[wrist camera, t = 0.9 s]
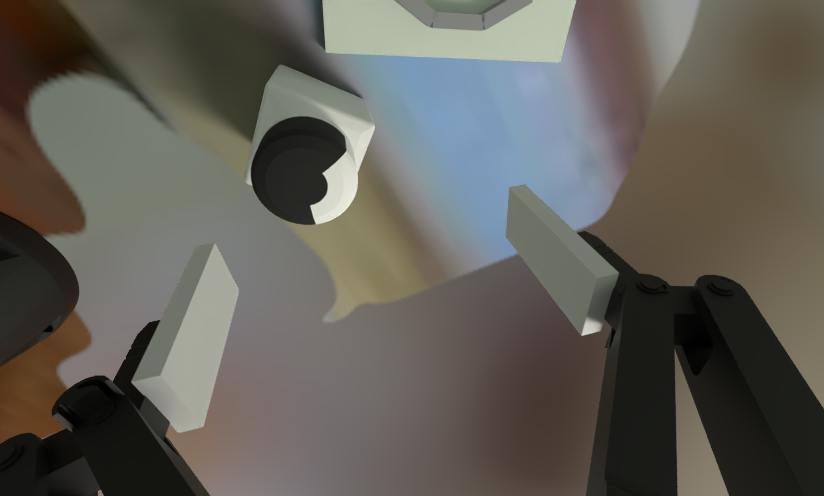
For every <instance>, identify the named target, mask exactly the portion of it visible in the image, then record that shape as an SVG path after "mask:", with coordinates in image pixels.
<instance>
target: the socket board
mask: <svg viewBox="0 0 824 496" xmlns="http://www.w3.org/2000/svg"><path fill="white" fill-rule="evenodd" d="M322 1H323V17H324V32H325V48H326V53H344V54H368V55H392V56H416V57H440V58H464V59H488V60H512V61H536V62H560V61H561V57H562V53H563V49H564V45H565V41H566V38H567V34H568V30H569V26H570V22H571V18H572V14H573V11H574V7H575V3H576V0H322Z"/></svg>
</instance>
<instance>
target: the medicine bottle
mask: <svg viewBox="0 0 824 496" xmlns="http://www.w3.org/2000/svg"><path fill="white" fill-rule="evenodd" d="M374 129H375V125H374V122H373V119H372V116H371V114H370V111H369V108H368V105H367V103H366V101H365V100H364V99H362V98H360V97H357V96H355V95H353V94H350V93H348V92H346V91H343V90H341V89H339V88H336V87H334V86H332V85H329V84H327V83H325V82H322V81H320V80H318V79H315V78H313V77H310V76H308V75H306V74H303V73H301V72H299V71H296V70H294V69H292V68H289V67H287V66H285V65H278V67H277V68H276V70H275V71H274V73H273V74H272V76H271V77H270V79H269V81H268V82H267V84H266V85H265V90H264V94H263V98H262V103H261V107H260V111H259V115H258V120H257V124H256V128H255V133H254V137H253V141H252V145H251V150H250V154H249V158H248V163H247V167H246V171H245V175H244V181H245V182H246V183H247V184H249V185H252V186H253V189H254V191H255V193H256V195H257V197H258V198H259V200H260V201H261V203H262V204H263V205H264V206H265V207H266V208H267V209H268V210H269V211H270V212H272V213H273V214H275V215H276V216H278V217H280V218H282V219H284V220H286V221H289V222H292V223H296V224H303V225H313V224H320V223H324V222H327V221H330V220H332V219H334V218H336V217H337V216H339V215H341V214H342V213H343V212H344V211H345V210H346V209H347V208H348V207H349V206H350V204H351V202H352V201H353V199H354V197H355V194H356V191H357V185H358V175H357V173H358V170H359V168H360V165H361V162H362V160H363V157H364V155H365V152H366V150H367V147H368V145H369V142H370V139H371V137H372V134H373V132H374Z"/></svg>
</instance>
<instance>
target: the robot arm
mask: <svg viewBox="0 0 824 496" xmlns="http://www.w3.org/2000/svg"><path fill="white" fill-rule="evenodd" d="M506 237H507V239H508V240H509V241H510V243H511V244H512V245H513V247H514V248H515V249H516V251H517V252H518V253H519V254H520V256H521V257H522V258H523V260H524V261H525V262H526V263H527V265H528V266H529V268H530V269H531V270H532V271H533V273H534V274H535V275H536V276H537V278H538V279H539V281H540V282H541V283H542V285H543V286H544V287H545V288H546V290H547V291H548V292H549V294H550V295H551V296H552V298H553V299H554V300H555V302H556V303H557V304H558V305H559V307H560V308H561V309H562V311H563V312H564V313H565V315H566V316H567V317H568V319H569V320H570V321H571V323H572V324H573V325H574V327H575V328H576V329H577V331H578V332H579V333H580V334H581V335H586V334H590V333H594V332H599V331H601V329H602V326H603V323H604V320H606V321H607V322H608V324H609V325H610V326H611V327H612V328H611V331H610V334H609V337H608V340H607V343H606V346H605V348H607V355H606V361H605V368H604V375H603V382H602V389H601V396H600V402H599V409H598V416H597V423H596V430H595V436H594V444H593V450H592V457H591V464H590V471H589V477H588V484H587V491H586V496H677V453H676V451H677V450H676V404H675V358H674V348H675V351H676V354H677V356H678V359H679V362H680V364H681V367H682V370H683V372H684V375H685V378H686V380H687V383H688V386H689V388H690V391H691V394H692V397H693V399H694V402H695V405H696V408H697V410H698V413H699V416H700V418H701V421H702V424H703V426H704V429H705V431H706V434H707V437H708V440H709V443H710V445H711V448H712V451H713V453H714V456H715V459H716V461H717V464H718V466H719V469H720V472H721V475H722V477H723V480H724V483H725V485H726V488H727V491H728V493H729V496H824V409H823V407H822V406H821V404H820V402H819V401H818V400H817V398H816V396H815V395H814V393H813V392H812V390H811V389H810V387H809V386H808V384H807V383H806V381H805V380H804V378H803V377H802V375H801V374H800V372H799V370H798V369H797V368H796V366H795V364H794V363H793V361H792V360H791V358H790V357H789V355H788V354H787V352H786V351H785V349H784V348H783V346H782V345H781V343H780V342H779V340H778V339H777V337H776V336H775V334H774V333H773V331H772V330H771V328H770V326H769V325H768V323H767V322H766V320H765V319H764V317H763V316H762V314H761V313H760V311H759V310H758V308H757V307H756V305H755V304H754V302H753V300H752V299H751V298H750V296H749V295H748V293H747V292H746V290H745V289H744V288H743V287H742V286H741V285H740V284H738V283H736V282H735V281H733V280H731V279H729V278H726V277H723V276H718V275H704V276H701V277H699V278H698V280H697V281H696V283H695V285H694V287H692V286H670V285H669V284H668V283H667V282H666V281H664V280H662V279H661V278H659V277H656V276H653V275H648V274H639V273H638V272H637V271H636V270H634V269H633V268H632V267H631V266H630V265H629V264H627V263H626V262H625V261H624V260H623V259H622V258H621V257H620V256H618V255H617V254H616V253H614V252H613V250H612V249H610V248H609V247H608V246H606V244H605V243H604V242H602V240H600V239H599V238H598V237H596V236H594V235H592V234H590V233H588V232H586V231H583V232H579V233H576V232H575V231H574V230H573V229H572V228H571V227H570V226H569V225H567V224H566V223H565V222H564V221H563V220H562V219H561V218H560V217H559V216H558V215H557V214H556V213H555V212H554V211H553V210H551V209H550V208H549V207H548V206H547V205H546V204H545V203H544V202H543V201H542V200H541V199H540V198H539V197H538V196H537V195H536V194H534V193H533V192H532V191H531V190H530V189H529V188H528V187H527V186H526V185H520V186H514V187H509V199H508V213H507V228H506ZM238 293H239V289H238V287H237V286H236V284H235V282H234V280H233V278H232V276H231V274H230V272H229V270H228V268H227V266H226V264H225V262H224V260H223V258H222V256H221V254H220V252H219V250H218V248H217V246H216V244H215V243H211V244H206V245H200V246H196V248H195V250H194V251H193V254H192V256H191V258H190V260H189V262H188V264H187V266H186V268H185V270H184V272H183V274H182V277H181V279H180V281H179V283H178V285H177V287H176V289H175V292H174V293H173V295H172V297H171V300H170V302H169V304H168V306H167V308H166V310H165V312H164V314H163V316H162V318H161V320H158V321H153V322H149V323H148V324H147V326H145V327H144V328H143V330H142V331H140V333H139V334H138V335H137V336H136V339H135V340H134V342H133V344H132V346H131V349H130V350H129V352H128V354H127V356H126V359H125V360H124V361H123V363H122V365H121V367H120V369H119V371H118V373H117V374H116V376H115V378H114V380H113V382H112V381H111V380H110V379H109V378H107V377H106V376H93V377H89V378H86V379H84V380H82V381H80V382H78V383H76V384H74V385H73V386H72V387H71V388H69V389H68V390H67V391H65V392H64V393H63V394H62V395H61V396H60V397H59V399H58V400H57V401H56V402H55V404H54V406H53V408H52V417H53V418H55V419H56V420H57V421H58V422H60V423H61V424H62V425H63V426H65V427H66V429H64V430H62V431H60V432H57V433H55V434H53V435H51V436H49V437H47V438H45V439H43V440H42V439H41V438H39V437H38V436H36V435H34V434H32V433H25V434H19V435H17V436H14V437H12V438H9V439H8V440H6V441H4V442H3V443H1V444H0V496H98V491H99V490H101V491H102V493H103V495H104V496H210V495H209V493H208V492H207V491H206V489H205V488H204V487H203V485H202V484H201V482H200V481H199V480H198V478H197V477H196V476H195V474H194V473H193V472H192V470H191V469H190V467H189V466H188V465H187V463H186V462H185V461H184V459H183V458H182V457H181V455H180V454H179V452H178V451H177V450H176V448H175V447H174V446H173V444H172V443H171V441H170V440H169V439H168V438H167V437H166V436H165V435H166V432H167V429H168V426H169V424H171V425H172V427H173V428H174V429H175V430H176V431H177V432H178V433H180V432H184V431H188V430H193V429H197V428H201V427H203V426H204V423H205V419H206V415H207V411H208V407H209V404H210V400H211V396H212V392H213V388H214V385H215V381H216V377H217V373H218V369H219V366H220V362H221V358H222V354H223V350H224V347H225V343H226V339H227V335H228V332H229V328H230V324H231V320H232V316H233V313H234V309H235V305H236V301H237V297H238ZM78 298H79V286H78V281H77V278H76V275H75V273H74V271H73V269H72V268H71V266H70V264H69V263H68V261H67V260H66V259H65V257H64V256H63V255H62V254H61V253H60V252H59V251H58V250H57V249H56V248H55V247H54V246H53V245H52V244H50V243H49V242H48V241H47V240H46V239H44V238H43V237H42V236H40V235H39V234H37V233H36V232H34V231H33V230H31V229H30V228H28V227H26V226H25V225H23V224H21V223H19V222H17V221H15V220H13V219H11V218H9V217H7V216H4V215H2V214H0V367H1V366H3V365H4V364H6V363H7V362H9V361H11V360H12V359H14V358H15V357H17V356H19V355H20V354H22V353H23V352H25V351H27V350H28V349H30V348H31V347H33V346H34V345H36V344H37V343H39V342H41V341H42V340H44V339H45V338H47V337H49V336H50V335H51V334H53V333H54V332H55V331H56V330H57V329H58V328H59V327H60V326H61V325H62V324H63V322H64V321H65V320H66V319H67V317H68V316H69V315H70V314H71V312H72V311H73V310H74V308H75V306H76V304H77V301H78Z"/></svg>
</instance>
